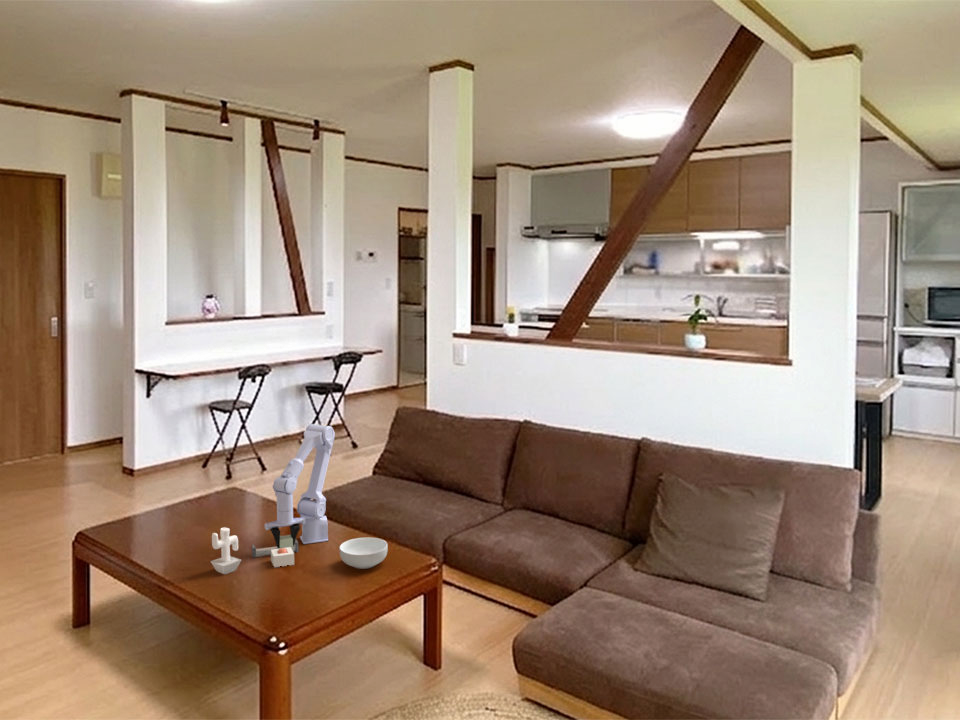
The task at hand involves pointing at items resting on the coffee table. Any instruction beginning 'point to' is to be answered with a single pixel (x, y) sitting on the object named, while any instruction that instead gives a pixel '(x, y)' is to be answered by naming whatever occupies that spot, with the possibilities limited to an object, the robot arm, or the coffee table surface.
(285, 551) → the plunger
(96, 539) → the coffee table surface
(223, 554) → the figurine
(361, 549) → the cereal bowl
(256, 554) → the slide rail
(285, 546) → the block
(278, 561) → the box
